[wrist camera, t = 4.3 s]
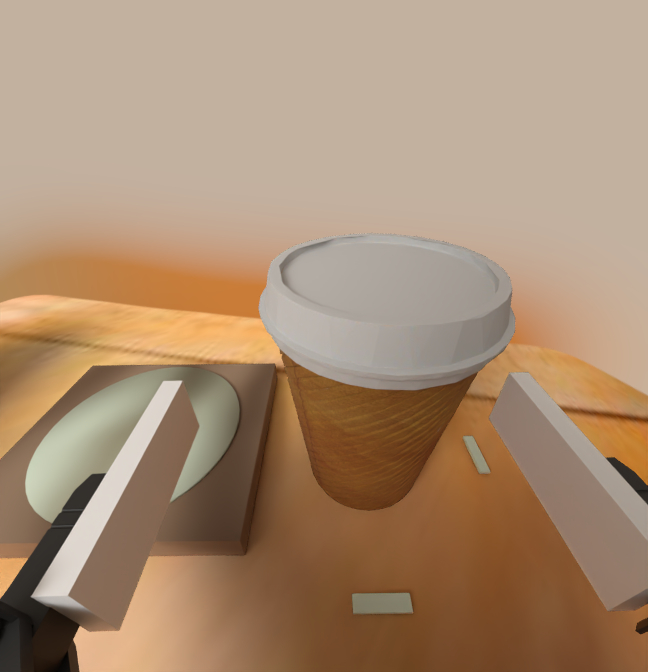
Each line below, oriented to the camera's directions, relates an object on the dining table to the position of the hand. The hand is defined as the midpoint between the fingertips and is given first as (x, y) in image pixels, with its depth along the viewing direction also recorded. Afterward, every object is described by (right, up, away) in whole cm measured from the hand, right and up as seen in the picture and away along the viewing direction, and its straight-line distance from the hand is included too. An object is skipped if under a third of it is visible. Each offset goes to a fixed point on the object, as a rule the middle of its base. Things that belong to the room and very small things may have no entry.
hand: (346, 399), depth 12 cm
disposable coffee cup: (+1, -5, +6) cm, 7 cm away
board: (-12, -4, +6) cm, 14 cm away
